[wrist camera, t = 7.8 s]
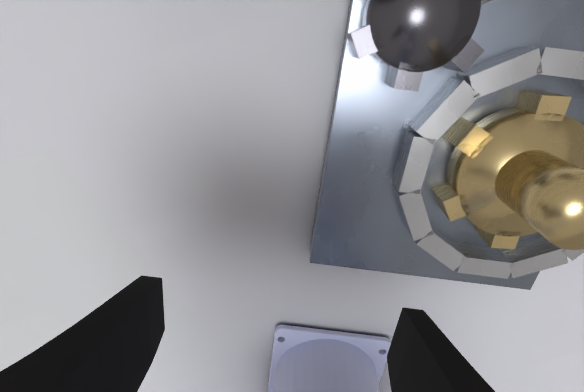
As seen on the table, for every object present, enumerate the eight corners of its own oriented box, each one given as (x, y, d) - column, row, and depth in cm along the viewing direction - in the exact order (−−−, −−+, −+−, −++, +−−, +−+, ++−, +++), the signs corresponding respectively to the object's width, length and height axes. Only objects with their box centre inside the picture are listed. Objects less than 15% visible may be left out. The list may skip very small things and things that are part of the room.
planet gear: (553, 236, 18) (637, 303, 14) (422, 228, 19) (461, 292, 14) (612, 94, 15) (747, 118, 11) (455, 86, 16) (519, 107, 11)
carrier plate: (542, 279, 21) (580, 318, 18) (308, 251, 21) (308, 284, 18) (702, -24, 14) (801, -40, 11) (359, -68, 14) (372, -96, 11)
